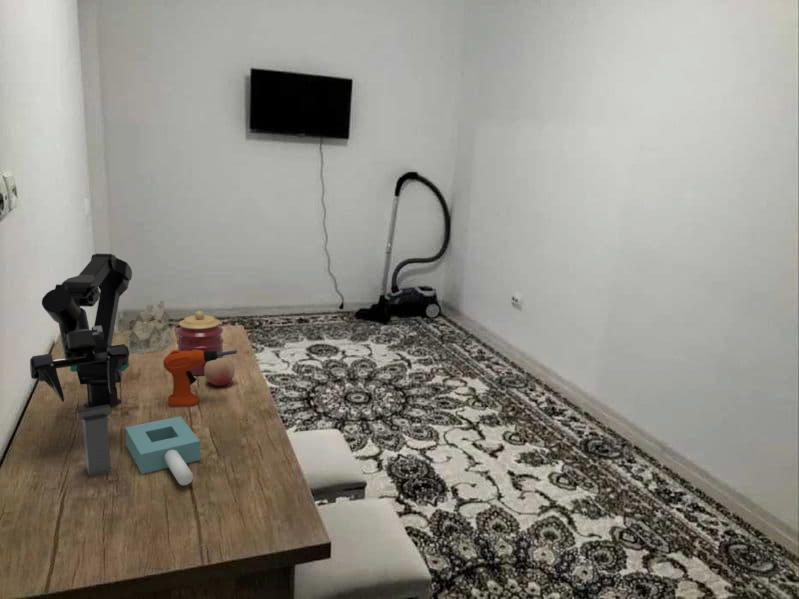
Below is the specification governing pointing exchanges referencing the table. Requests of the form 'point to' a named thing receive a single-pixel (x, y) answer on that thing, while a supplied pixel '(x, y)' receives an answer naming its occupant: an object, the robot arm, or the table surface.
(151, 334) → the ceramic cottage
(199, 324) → the canister
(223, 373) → the fruit
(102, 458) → the grey t-shaped bar
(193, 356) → the toy drill
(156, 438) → the block
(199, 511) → the table surface
